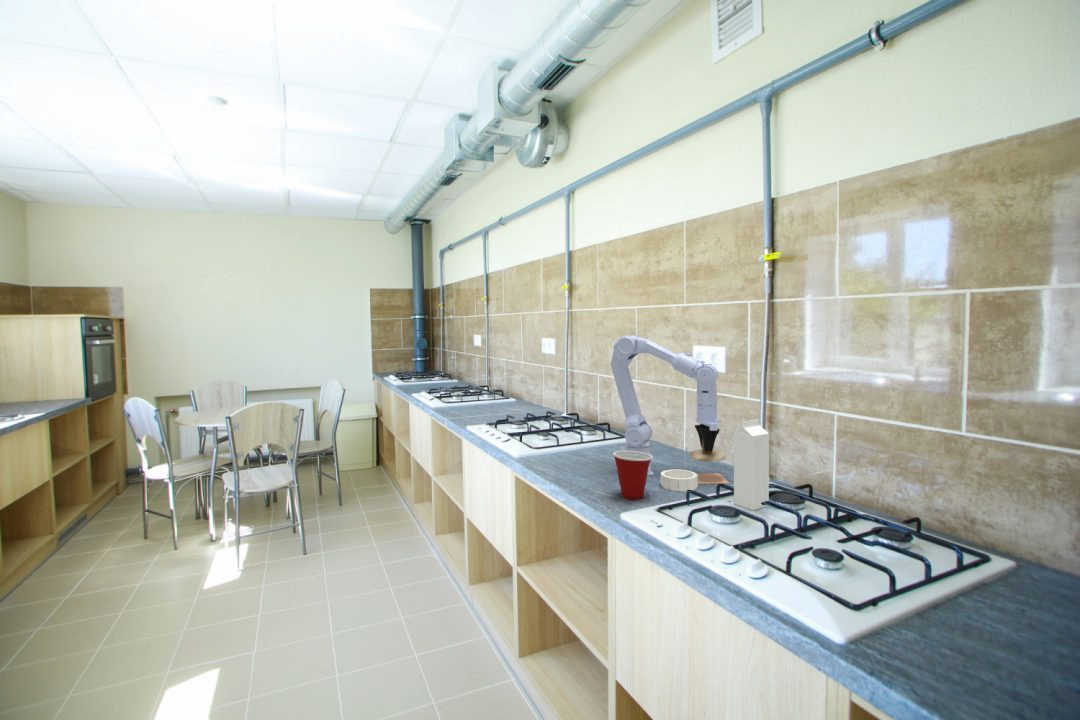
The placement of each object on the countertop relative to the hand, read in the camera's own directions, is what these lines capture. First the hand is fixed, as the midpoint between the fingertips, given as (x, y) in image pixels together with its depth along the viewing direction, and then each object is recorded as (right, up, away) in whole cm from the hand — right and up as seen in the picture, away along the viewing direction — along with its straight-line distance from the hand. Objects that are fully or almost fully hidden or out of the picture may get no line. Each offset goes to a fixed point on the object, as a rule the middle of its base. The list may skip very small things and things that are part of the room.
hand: (706, 449), depth 153 cm
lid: (0, -2, 0) cm, 2 cm away
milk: (+4, -11, -22) cm, 24 cm away
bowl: (-10, -10, -6) cm, 15 cm away
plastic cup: (-24, -11, -12) cm, 29 cm away
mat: (0, -9, +1) cm, 9 cm away
